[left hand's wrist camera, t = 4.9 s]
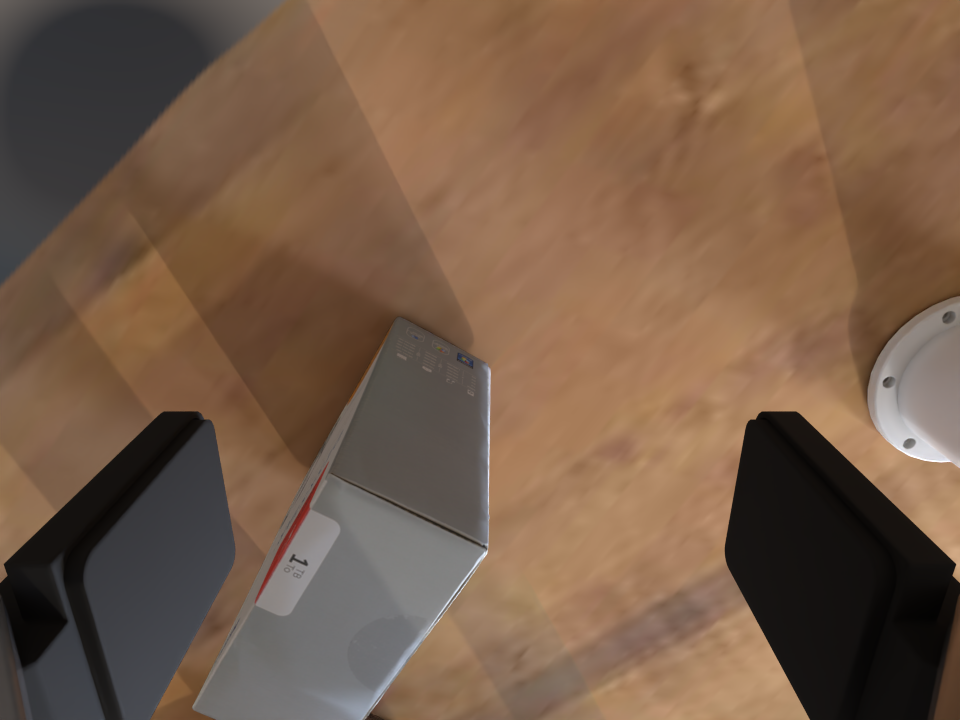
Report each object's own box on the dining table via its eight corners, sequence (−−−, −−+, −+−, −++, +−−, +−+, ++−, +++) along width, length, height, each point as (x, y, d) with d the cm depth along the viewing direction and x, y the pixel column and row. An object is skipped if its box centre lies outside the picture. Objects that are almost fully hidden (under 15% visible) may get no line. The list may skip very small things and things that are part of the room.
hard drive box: (396, 310, 43) (332, 466, 24) (492, 364, 44) (502, 549, 26) (300, 479, 48) (186, 715, 29) (389, 522, 49) (335, 773, 31)
